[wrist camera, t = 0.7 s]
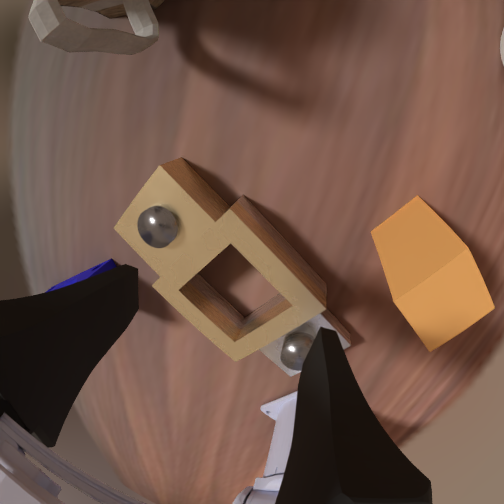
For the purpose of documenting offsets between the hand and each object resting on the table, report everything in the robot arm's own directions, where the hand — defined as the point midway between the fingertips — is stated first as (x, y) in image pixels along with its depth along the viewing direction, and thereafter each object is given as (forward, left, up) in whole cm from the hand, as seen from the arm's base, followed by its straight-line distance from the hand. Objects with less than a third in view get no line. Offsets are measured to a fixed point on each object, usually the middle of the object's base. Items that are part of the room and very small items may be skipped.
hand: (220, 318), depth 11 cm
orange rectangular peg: (-7, -7, -10) cm, 14 cm away
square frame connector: (-2, +4, -10) cm, 11 cm away
